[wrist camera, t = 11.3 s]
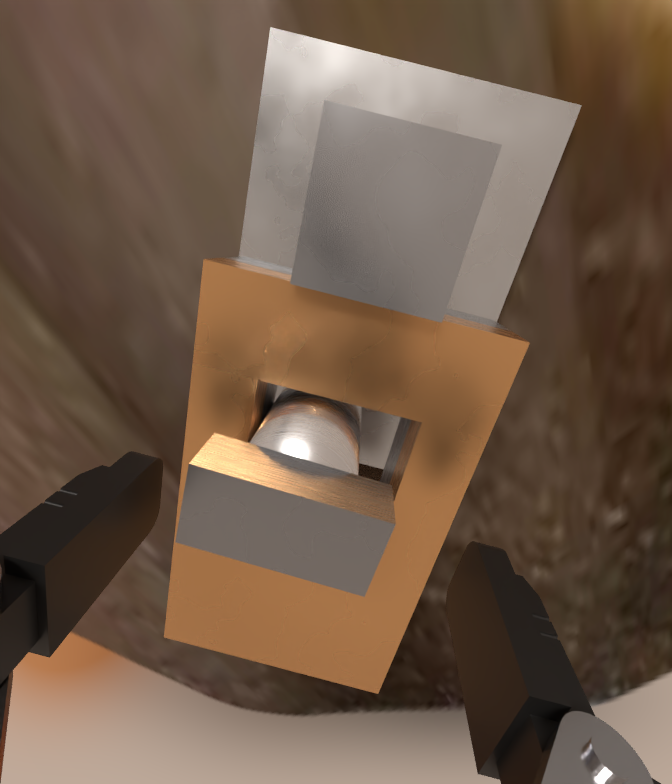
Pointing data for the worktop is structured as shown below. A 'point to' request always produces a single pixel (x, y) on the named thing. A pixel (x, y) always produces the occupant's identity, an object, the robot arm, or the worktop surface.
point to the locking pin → (291, 496)
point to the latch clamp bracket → (364, 324)
